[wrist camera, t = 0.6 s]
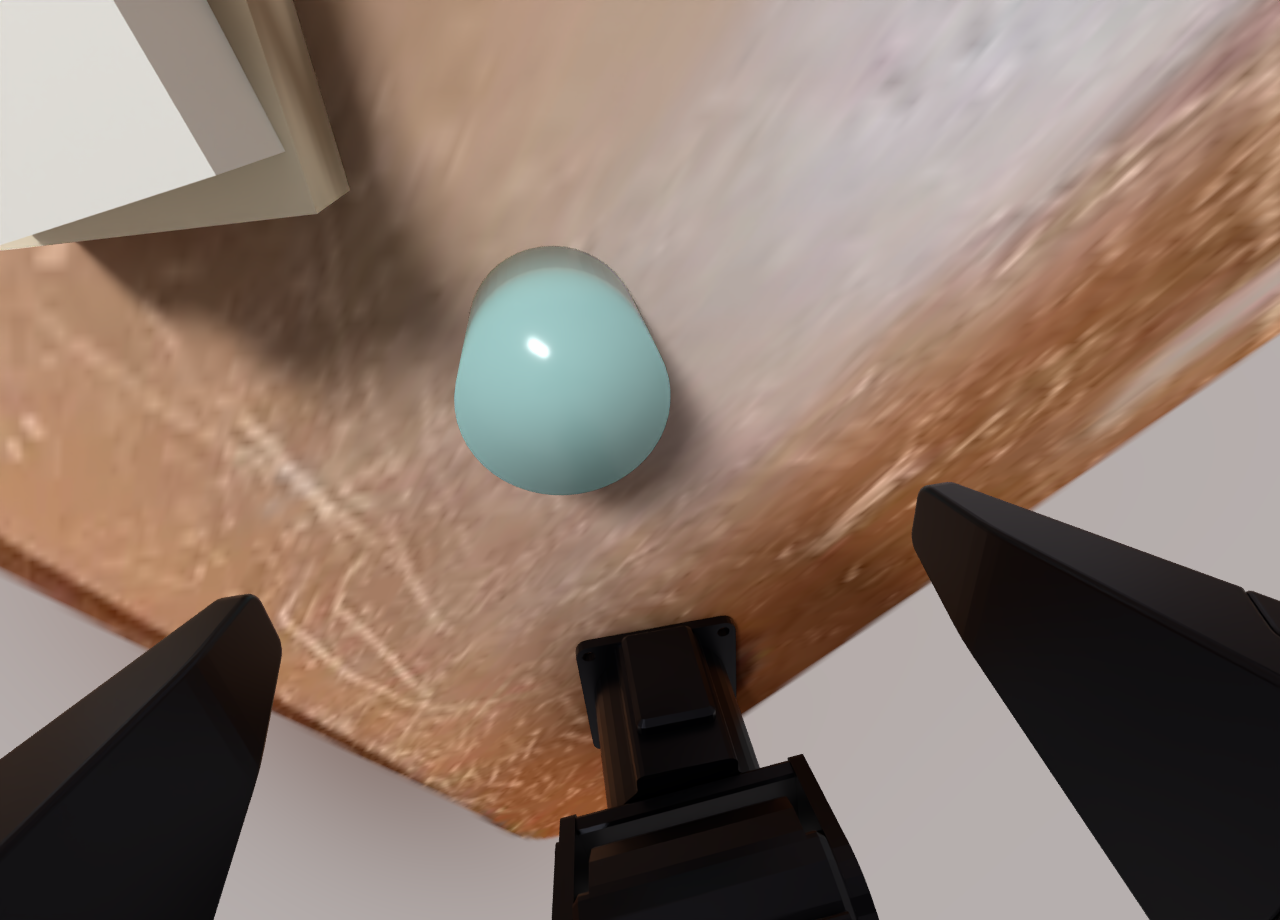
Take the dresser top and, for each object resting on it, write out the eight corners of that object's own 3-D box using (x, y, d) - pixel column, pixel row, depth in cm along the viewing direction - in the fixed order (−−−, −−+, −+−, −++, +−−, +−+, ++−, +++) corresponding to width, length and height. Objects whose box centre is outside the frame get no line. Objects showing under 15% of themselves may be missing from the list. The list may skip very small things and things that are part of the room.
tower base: (352, 188, 17) (316, 214, 14) (66, 220, 16) (-35, 254, 13) (243, -181, 13) (162, -253, 10) (-133, -157, 12) (-336, -227, 10)
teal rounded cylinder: (644, 394, 21) (676, 478, 17) (488, 418, 20) (480, 509, 16) (629, 234, 18) (663, 286, 14) (450, 258, 18) (429, 318, 14)
